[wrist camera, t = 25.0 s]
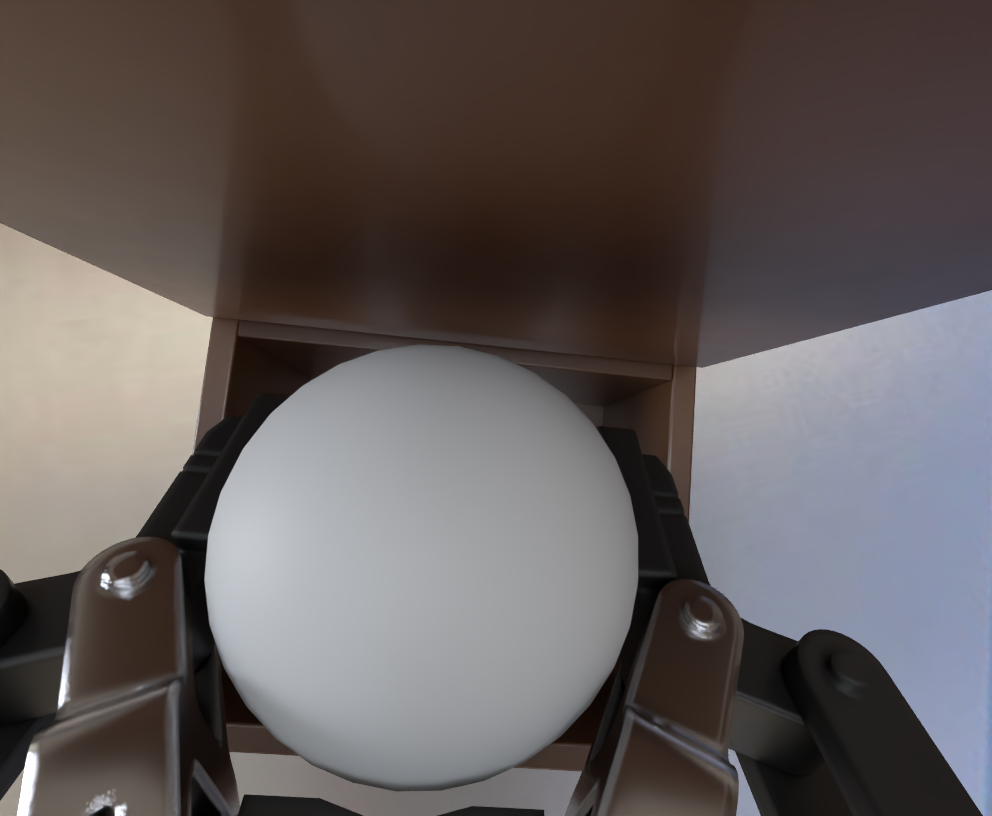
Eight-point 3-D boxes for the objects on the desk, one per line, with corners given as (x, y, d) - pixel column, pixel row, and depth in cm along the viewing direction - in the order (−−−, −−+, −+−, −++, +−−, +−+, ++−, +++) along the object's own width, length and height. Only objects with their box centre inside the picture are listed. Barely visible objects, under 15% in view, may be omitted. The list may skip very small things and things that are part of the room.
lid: (1795, 81, 3) (1764, -734, 3) (-1466, -432, 2) (-1135, -1508, 2) (703, 368, 16) (715, 204, 17) (204, 316, 15) (225, 144, 16)
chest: (598, 663, 24) (677, 778, 15) (263, 640, 23) (146, 748, 15) (616, 393, 26) (697, 358, 17) (300, 361, 25) (213, 307, 16)
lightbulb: (536, 399, 16) (692, 271, 6) (552, 599, 16) (761, 896, 5) (338, 411, 16) (83, 297, 5) (346, 618, 15) (76, 995, 4)
